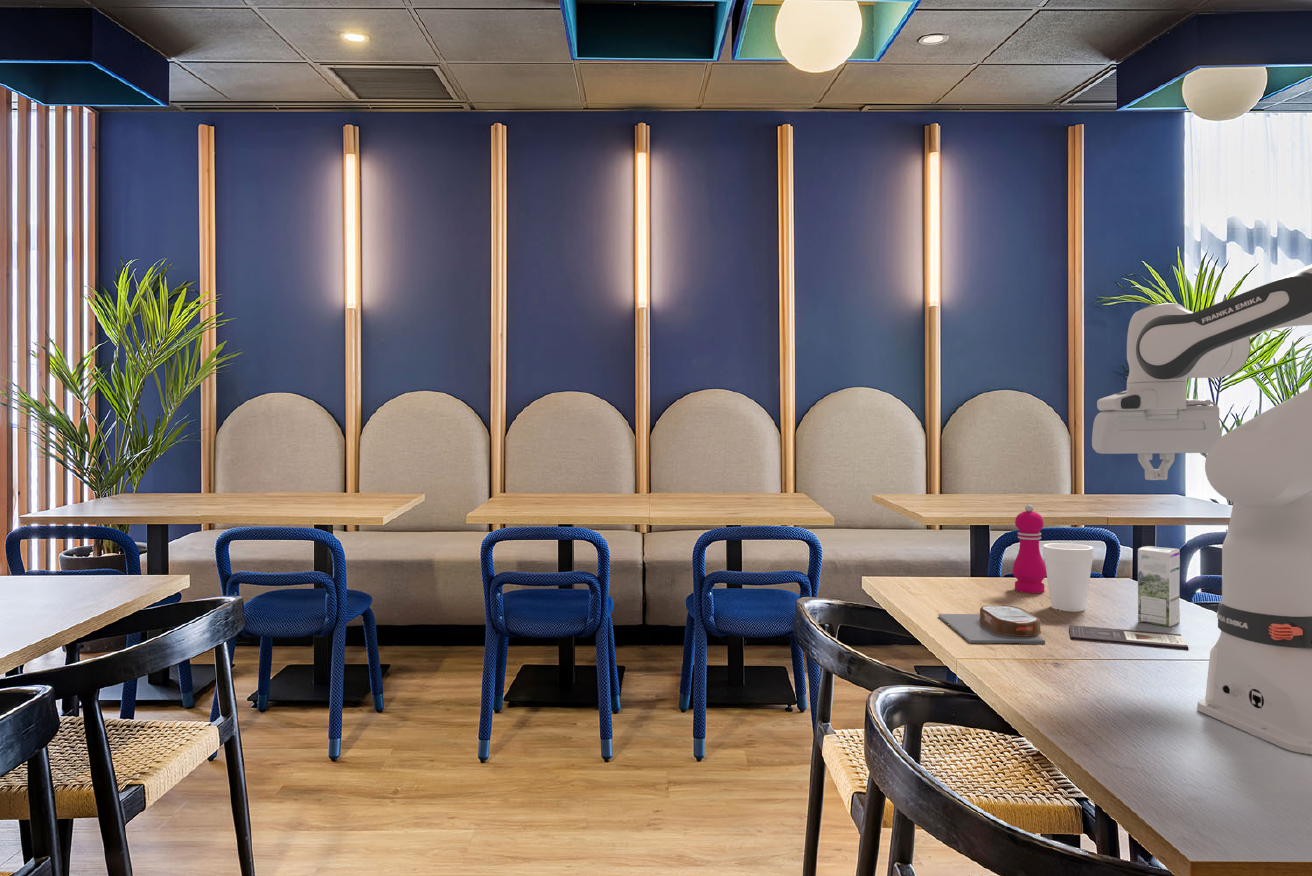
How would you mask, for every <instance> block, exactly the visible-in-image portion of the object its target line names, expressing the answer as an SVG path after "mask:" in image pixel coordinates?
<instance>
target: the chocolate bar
mask: <svg viewBox="0 0 1312 876" xmlns="http://www.w3.org/2000/svg"><path fill="white" fill-rule="evenodd" d="M1068 627H1069V628H1068V629H1069V636H1070V640H1072V641H1074V640H1075V641H1084V642H1094V643H1107V644H1117V645H1126V646H1127V645H1129V646H1140V647H1152V648H1162V649H1172V650H1180V651H1181V650H1184V651H1189V645H1188V644H1187V643H1186V641H1185V639H1184V637H1183V636H1182V635H1181V633H1170V632H1158V631H1146V630H1134V629H1133V630H1132V629H1122V628H1120V629H1119V628H1110V627H1109V628H1107V627H1094V626H1085V625H1075V624H1074V625H1072V624H1069V626H1068Z"/></svg>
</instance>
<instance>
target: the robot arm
mask: <svg viewBox="0 0 1312 876" xmlns="http://www.w3.org/2000/svg"><path fill="white" fill-rule="evenodd" d="M1298 326H1299V327H1300V326H1301V327H1302V326H1312V264H1309V265H1306V266H1305V267H1302V268H1300V269H1298V270H1296V271H1294V272H1291V273H1289V274H1287V275H1285V276H1282V277H1281V278H1279V279H1276V280H1273V281H1271V282H1268V283H1266V284H1263V285H1261V286H1257V287H1255V288H1253V289H1250V290H1248V291H1244V292H1243V293H1240V294H1238V295H1235V296H1233V297H1230V298H1228V299H1225V300H1222V301H1220V302H1217V303H1215V304H1212V305H1210V306H1208V307H1205V308H1202V309H1200V310H1197V311H1191V310H1189V309H1187V308H1185V306H1183V305H1182V304H1179V303H1176V302H1175V303H1174V302H1164V303H1159V304H1151V305H1149V306H1145V307H1142V308H1140V309H1139V310H1137V311H1135V312H1134V314H1132V317H1131V318H1130V321H1129V323H1128V330H1127V335H1126V336H1127V337H1126V338H1127V339H1126V360H1127V363H1128V364H1127V365H1128V367H1129V369H1128V370H1129V372H1128V376H1127V380H1126V390H1123V391H1120V392H1118V393H1114V394H1110V395H1109V396H1105V397H1102V398H1099V399H1098V400H1097V401H1096V408H1097V410H1098V411H1101V412H1099V413H1097V414H1096V416H1095V417H1094V420H1093V424H1092V435H1091V447H1092V449H1093V450H1094V451H1095V453H1097V454H1103V455H1104V454H1107V455H1108V454H1109V455H1112V454H1116V455H1117V454H1119V455H1121V454H1124V455H1125V454H1127V455H1128V454H1130V455H1131V454H1132V455H1133V454H1137V460H1138V462H1139V464H1140V465H1141V467H1142V468H1143V470H1144V478H1145V480H1146V481H1167V480H1168V474H1169V473H1168V472H1169V469H1170V468H1171V466H1172V465H1173V463H1174V462H1175V460H1176V459H1175V458H1176V456H1175V455H1176V454H1206V457H1205V462H1204V463H1205V464H1204V471H1205V475H1206V478H1207V481H1208V482H1209V483H1208V484H1209V485H1210V486H1211V487H1212V489H1214V490H1215V492H1216V493H1217V494H1219V495H1220V496H1222V497H1223V498H1225V499H1227V500H1228V501H1230V502H1232V506H1231V507H1232V508H1231V512H1230V513H1231V514H1230V518H1229V523H1228V524H1229V525H1228V527H1227V532H1226V536H1225V538H1224V539H1223V543H1222V546H1221V547H1222V548H1221V601H1219V603H1218V604H1217V605H1218V609H1217V612H1216V618H1217V628H1218V629H1219V630H1220V634H1219V637H1218V639H1217V641H1216V643H1215V644H1214V645H1213V647H1212V648H1211V650H1210V651H1209V661H1208V670H1207V676H1206V677H1207V679H1206V680H1207V681H1206V691H1205V698H1203V699H1199V701H1198V702H1197V708H1196V709H1197V711H1199V712H1200V713H1203V714H1205V715H1208V716H1210V717H1212V718H1214V719H1217V720H1219V721H1221V722H1224V723H1226V724H1227V725H1230V726H1232V727H1235V728H1236V729H1239V730H1242V731H1244V732H1247V733H1249V734H1251V735H1253V736H1255V737H1257V738H1260V739H1262V740H1264V741H1267V742H1268V743H1271V744H1273V745H1276V746H1278V747H1281V748H1283V749H1285V750H1287V751H1290V752H1295V753H1300V754H1306V755H1312V387H1310V388H1308V389H1306V390H1304V391H1301V392H1300V393H1297V394H1296V395H1294V396H1292V397H1290V398H1288V399H1286V400H1284V401H1283V402H1281V403H1279V404H1277V405H1274V406H1273V407H1271V408H1269V409H1268V410H1265V411H1264V412H1262V413H1260V414H1258V415H1257V416H1255V417H1253V418H1251V419H1250V420H1247V421H1246V422H1244V423H1241V424H1240V425H1239V426H1237V427H1235V428H1233V429H1232V430H1230V431H1228V432H1226V433H1225V434H1224V435H1222V431H1221V430H1222V429H1221V425H1220V408H1219V406H1218V404H1216V403H1215V402H1213V401H1211V399H1204V398H1202V399H1188V397H1187V394H1188V393H1187V388H1188V387H1187V380H1188V379H1203V378H1205V379H1215V378H1216V379H1217V378H1223V377H1227V376H1230V375H1231V376H1232V375H1233V374H1235V373H1237V372H1238V371H1240V370H1241V369H1242V368H1243V367H1244V366H1245V364H1246V362H1247V361H1248V359H1249V358H1250V353H1251V350H1252V349H1251V348H1252V347H1251V346H1252V344H1251V338H1252V337H1254V336H1257V335H1259V334H1262V333H1265V332H1268V331H1272V330H1277V329H1282V328H1288V327H1298ZM1153 454H1159V460H1162V461H1161V463H1160V465H1159V466H1158V468H1157V469H1156V468H1154V466H1153V464H1151V461H1152V460H1153Z"/></svg>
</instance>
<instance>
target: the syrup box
mask: <svg viewBox="0 0 1312 876" xmlns="http://www.w3.org/2000/svg"><path fill="white" fill-rule="evenodd" d="M1180 554H1181V553H1180V548H1172V547H1160V546H1153V545H1152V546H1151V545H1146V546H1141V547H1139V548H1137V621H1138V622H1139V623H1140V622H1141V623H1144V624H1145V623H1146V624H1152V625H1158V626H1163V627H1173V626H1175V625H1177V624H1179V623H1180V620H1181V613H1180V576H1181V575H1180V574H1181V573H1180V567H1181V565H1180V564H1181V559H1180V557H1181V555H1180Z"/></svg>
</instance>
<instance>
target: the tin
mask: <svg viewBox="0 0 1312 876" xmlns="http://www.w3.org/2000/svg"><path fill="white" fill-rule="evenodd" d="M979 614H980V619H979V620H980V622H982V623H983V624H984V625H986V626H987V627H989V628H990V629H991V630H993V631H994V632H997V633H1000V634H1004V635H1010V636H1021V637H1029V636H1039V635H1041V634H1042V631H1041V619H1040V618H1039V617H1037V616H1035V615H1034V614H1032V613H1030V612H1029V611H1027V610H1026V609H1023V608H1021V607H1019V606H1018V607H1017V606H1012V605H1007V604H1006V605H982V606H981V607H980V609H979Z"/></svg>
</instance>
